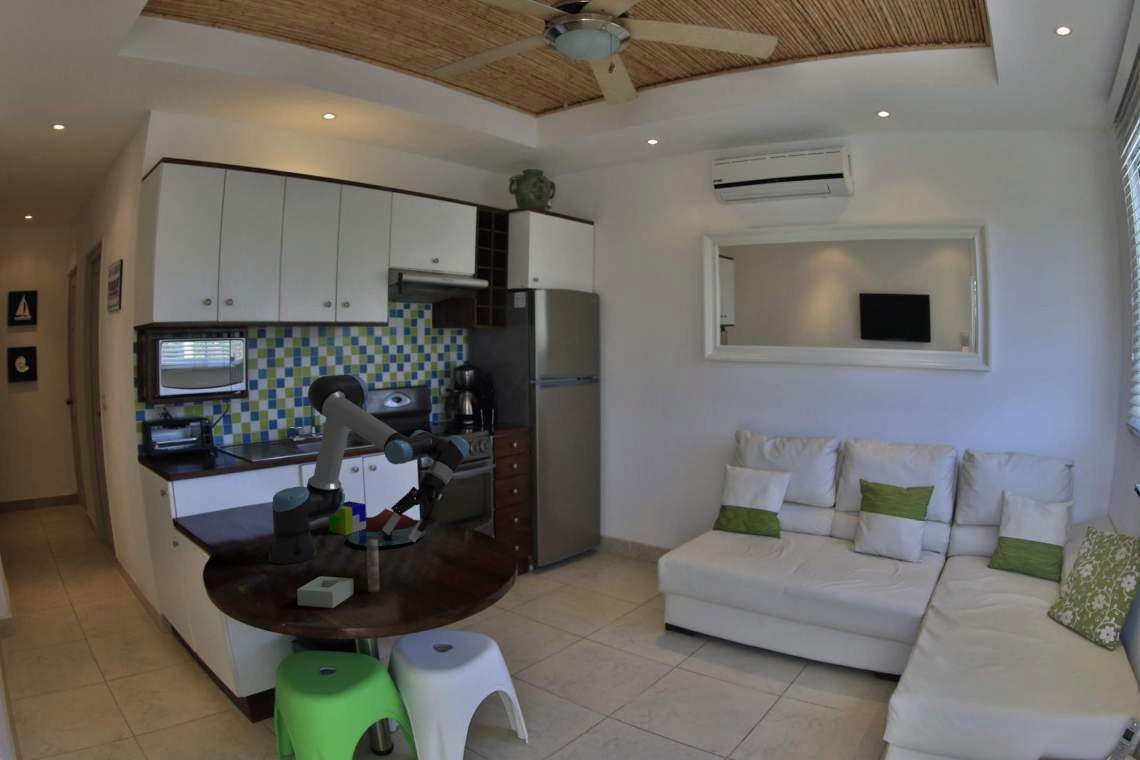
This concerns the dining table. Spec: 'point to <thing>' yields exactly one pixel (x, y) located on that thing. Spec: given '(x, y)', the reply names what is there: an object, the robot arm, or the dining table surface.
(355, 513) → the puzzle toy
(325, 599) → the grey square-hole block
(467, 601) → the dining table surface
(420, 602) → the dining table surface
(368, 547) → the tan cylinder
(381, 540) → the red and teal hat
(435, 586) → the dining table surface
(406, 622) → the dining table surface
